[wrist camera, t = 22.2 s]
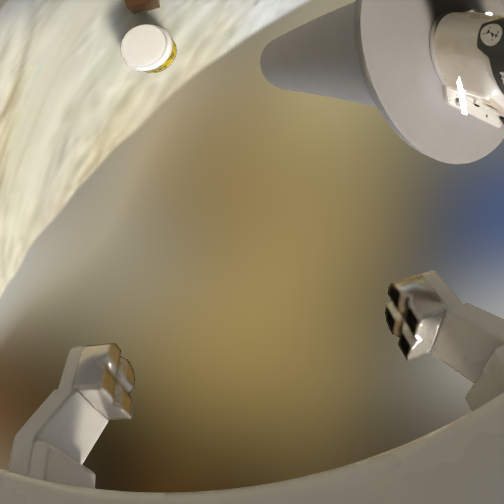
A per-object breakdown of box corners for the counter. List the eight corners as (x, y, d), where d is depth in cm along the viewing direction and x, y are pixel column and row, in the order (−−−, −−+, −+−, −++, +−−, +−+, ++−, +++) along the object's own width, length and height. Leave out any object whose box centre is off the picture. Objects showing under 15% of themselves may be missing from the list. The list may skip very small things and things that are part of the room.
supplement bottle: (149, 81, 29) (133, 81, 22) (127, 51, 27) (105, 43, 20) (185, 56, 29) (180, 48, 22) (163, 25, 26) (151, 10, 19)
